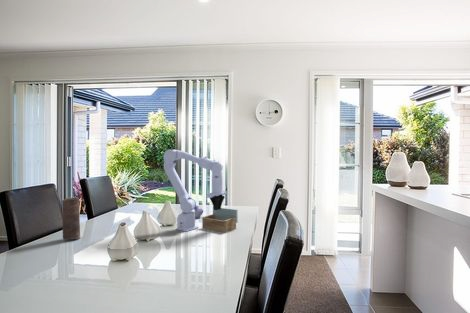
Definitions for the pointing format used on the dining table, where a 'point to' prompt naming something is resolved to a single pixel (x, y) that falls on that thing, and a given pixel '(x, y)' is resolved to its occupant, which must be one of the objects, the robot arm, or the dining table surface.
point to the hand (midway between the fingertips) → (217, 209)
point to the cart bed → (218, 224)
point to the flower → (198, 212)
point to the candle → (71, 218)
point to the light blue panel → (225, 214)
